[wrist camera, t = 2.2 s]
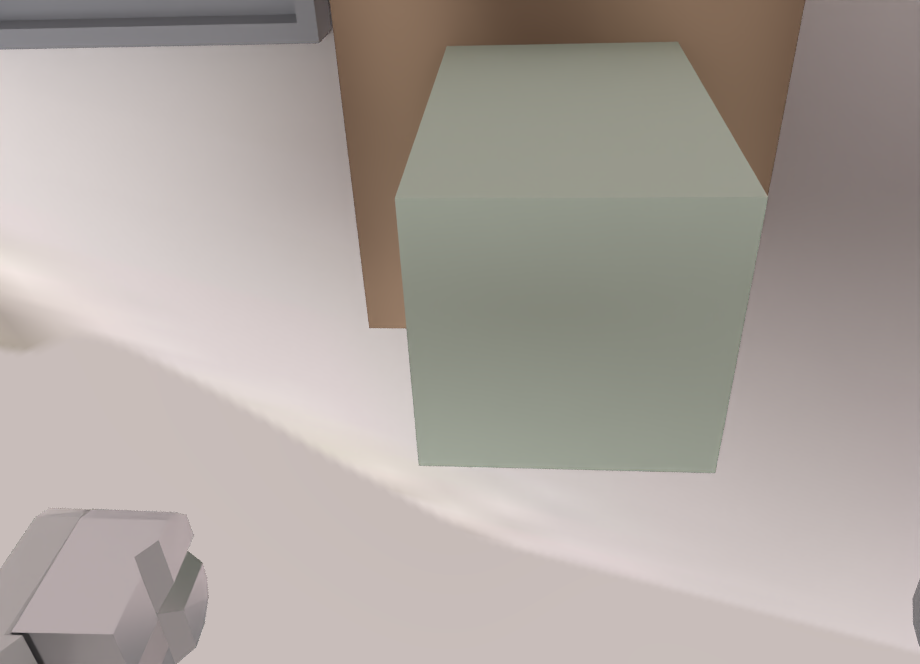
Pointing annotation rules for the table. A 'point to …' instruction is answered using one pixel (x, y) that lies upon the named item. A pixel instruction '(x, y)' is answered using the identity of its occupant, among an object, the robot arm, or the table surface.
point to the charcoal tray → (160, 23)
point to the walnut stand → (524, 23)
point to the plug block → (574, 260)
